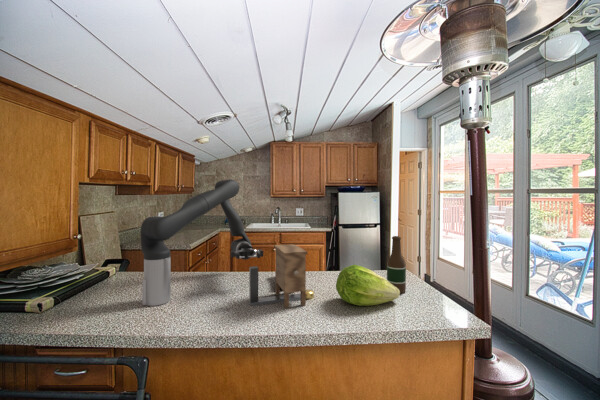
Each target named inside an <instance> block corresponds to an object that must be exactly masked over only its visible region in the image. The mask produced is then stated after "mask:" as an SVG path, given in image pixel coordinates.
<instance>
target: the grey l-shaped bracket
mask: <svg viewBox="0 0 600 400" xmlns="http://www.w3.org/2000/svg"><path fill="white" fill-rule="evenodd" d="M248 270H249V277H248V278H249V280H248V281H249V294H248V295H249V297H248V303H249V306H250V307H251V306H253V307H254V306H261V305H268V304H277V303H284V294H283V295H275V296H266V297H265V296H264V297H259V266H257V265H256V266H254V265H253V266H249V269H248ZM293 301H294V302H296V301H301V293H290V294H289V302H293Z"/></svg>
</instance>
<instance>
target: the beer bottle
mask: <svg viewBox="0 0 600 400" xmlns="http://www.w3.org/2000/svg"><path fill="white" fill-rule="evenodd" d="M391 239H392V241H391V242H392V243H391V244H392V245H391V253H390V256H388V258H387V260H386V280H387V281H389V282H390V283H391V284H392V285H394V286H395V287H397V288H398V289H399V291H400V295H403V294H405V293H406V291H407V290H406V289H407V281H406V280H407V279H406V278H407V276H406V275H407V266H406V265H407V263H406V260H405V258H404V257H403V255H402V249H401V248H402V246H401V245H402V243H401V240H402V237H401V236H399V235H393V236H392V237H391Z"/></svg>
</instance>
